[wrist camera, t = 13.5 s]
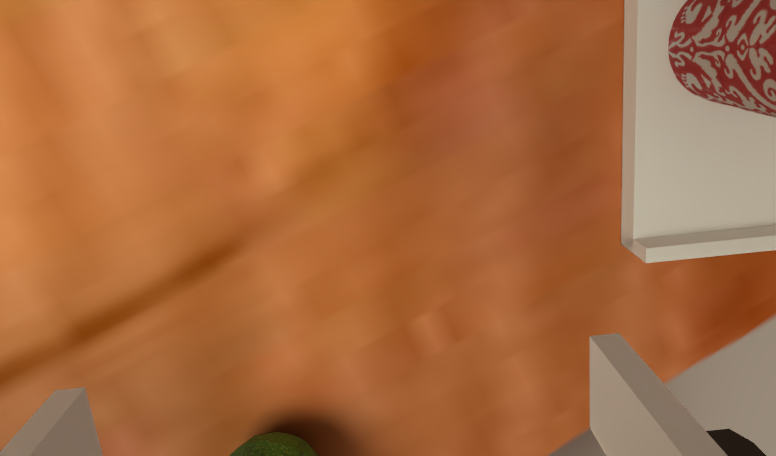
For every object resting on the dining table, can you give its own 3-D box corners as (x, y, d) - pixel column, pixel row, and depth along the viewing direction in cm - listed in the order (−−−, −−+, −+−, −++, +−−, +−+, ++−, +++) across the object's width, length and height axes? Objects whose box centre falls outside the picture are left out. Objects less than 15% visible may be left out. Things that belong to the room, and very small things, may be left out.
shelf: (626, -140, 37) (656, -162, 33) (876, -164, 37) (935, -188, 33) (621, 243, 44) (645, 263, 40) (832, 222, 44) (877, 239, 40)
